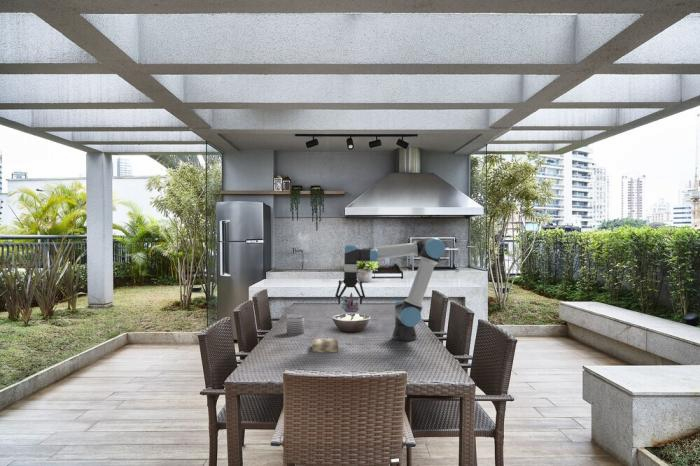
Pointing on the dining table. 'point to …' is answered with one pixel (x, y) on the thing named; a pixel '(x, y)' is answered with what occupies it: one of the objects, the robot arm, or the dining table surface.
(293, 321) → the can
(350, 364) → the dining table surface
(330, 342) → the oak riser
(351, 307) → the spiky succulent plant
